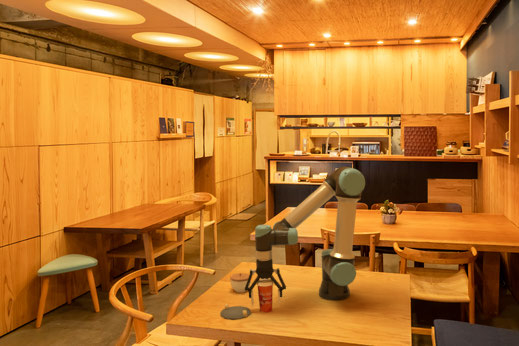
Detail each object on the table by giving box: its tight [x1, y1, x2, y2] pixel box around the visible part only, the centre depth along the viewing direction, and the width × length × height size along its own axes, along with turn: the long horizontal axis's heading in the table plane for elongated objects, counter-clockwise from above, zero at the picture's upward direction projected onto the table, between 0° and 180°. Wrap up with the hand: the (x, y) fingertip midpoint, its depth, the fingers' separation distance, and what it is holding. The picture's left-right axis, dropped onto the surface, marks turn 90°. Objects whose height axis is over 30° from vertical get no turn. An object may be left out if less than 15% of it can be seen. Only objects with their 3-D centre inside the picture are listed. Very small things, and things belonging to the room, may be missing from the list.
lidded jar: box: [229, 272, 252, 294], centre depth 264 cm, size 11×11×9 cm
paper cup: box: [256, 278, 274, 313], centre depth 235 cm, size 8×8×14 cm
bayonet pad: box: [220, 303, 252, 321], centre depth 233 cm, size 14×14×3 cm
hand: (265, 304), depth 236 cm, fingers open, 12 cm apart
